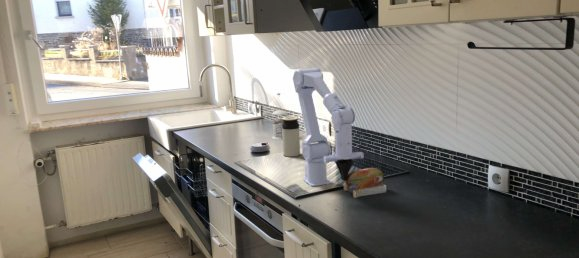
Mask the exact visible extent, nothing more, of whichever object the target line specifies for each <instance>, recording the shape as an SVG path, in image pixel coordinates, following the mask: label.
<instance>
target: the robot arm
mask: <svg viewBox="0 0 579 258" xmlns="http://www.w3.org/2000/svg"><path fill="white" fill-rule="evenodd" d="M292 76H293V77H292V80H293V81H292V82H293V86H294V90H295V93H296V94H297V97H298V101H299V106H300V110H301V115H302V119H303V123H304V124H303V125H304V128H305V133H306V137H305V138H304V140H302V142H301V145H302V148H301V149H302V151H301V153H302V156H303V158H304V159H305V162H304V174H305V178H303V179H302V180H303V181H305V182H306V183H307V184H309V186H310V187H316V186H323V185H329V184H331V181H329V180H328V177H327V175H328V174H327V164H329V163H335V165H336V167H337V169H338V171H339V175H340V178H341V180H342V181H344V182H345V181H346V180H347V177H348V174H349V173H350V171H351V168H352V167H353V165H354V160H357V159H364V155H365V154H364V152H362V151H355V152H354V151H353V135H352V133H353V131H352V129H353V128H352V124H353V123H354V122H355V121H356V113H355V111H354V110H353V108H352V107H350V106H347V105H346V104H344V102H342V100H341V98H340V97H339V96H338V94H336V93H332V92H331V90H330V89H329V87H328V86H327V84H326V83H325V80H324V73H323V72H322V70H321V69H320V68H319V67H313V68H302V69H300V68H297V69H295V71H294V73H293V75H292ZM315 91H316V92H317V93H318V94H319V95H320V96H321V98H322V99H323V100H322V102H323V103H322V104H323V106H324V107H325V108H326V110H327V111H328V112H329V114H330V115H331V116H330V119H331V122H332V125H333V128H332V129H333V130H334V131H335V132H334V137H335V138H334V139H335V140H334V141H335V142H334V143H335V148H334V149H335V153H334V154H333V153H332V154H331V152H332V149H331V146H330V144H329V142H328V138H327V137H326V136H325V135H323V134H321V131H320V125H319V122H318V117H317V113H316V108H315V104H314V99H313V95H312V94H313V92H315Z"/></svg>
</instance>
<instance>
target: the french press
mask: <svg viewBox="0 0 579 258" xmlns="http://www.w3.org/2000/svg"><path fill="white" fill-rule="evenodd" d="M276 96H281V93H280V92H278V93H276ZM287 113H288V112H287V111H284V110H282V109H281V110H280V108H278V109H277V110H275V111H273V112H272V113H271V114H272V115H273V116H279V118H277V119H274V120H273V122H272V129H273V130H272V131H273V136H271V139H273V140H283V133H282V124H283V119H281V116H284V117H291V116H290V115H288V114H287Z"/></svg>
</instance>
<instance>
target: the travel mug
mask: <svg viewBox="0 0 579 258" xmlns="http://www.w3.org/2000/svg"><path fill="white" fill-rule="evenodd" d="M282 119H283V124H282V129H281V130H282V133H283V139H282V152H283V156H285V157H288V158H290V157H291V158H292V157H293V158H294V157H298V156H300V155H301V143H300V124H299V121H298V120H299V117H298V116H290V117H288V116H287V117H285V116H284V117H282Z"/></svg>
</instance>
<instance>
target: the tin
mask: <svg viewBox="0 0 579 258" xmlns="http://www.w3.org/2000/svg"><path fill="white" fill-rule="evenodd" d="M344 183H345V185H346V188H347V189H348V191H347V192H350V193H352V194H353V190H356V189H359V188H364V187H371V186H377V185H384V183H385V175H384V173H383V170H381V169H380V168H376V167H368V168H367V167H366V168H363V169H358V170H352V171H351V172H350V171H349V173H348V177H347V180H346V181H344Z"/></svg>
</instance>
